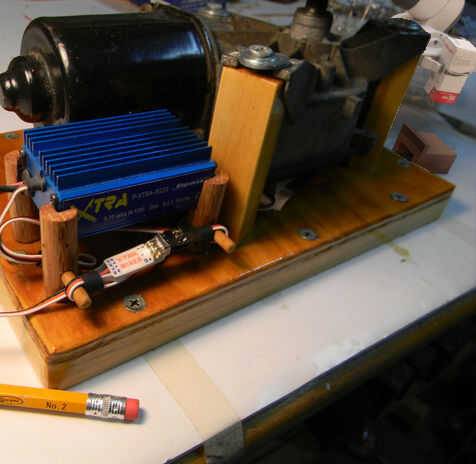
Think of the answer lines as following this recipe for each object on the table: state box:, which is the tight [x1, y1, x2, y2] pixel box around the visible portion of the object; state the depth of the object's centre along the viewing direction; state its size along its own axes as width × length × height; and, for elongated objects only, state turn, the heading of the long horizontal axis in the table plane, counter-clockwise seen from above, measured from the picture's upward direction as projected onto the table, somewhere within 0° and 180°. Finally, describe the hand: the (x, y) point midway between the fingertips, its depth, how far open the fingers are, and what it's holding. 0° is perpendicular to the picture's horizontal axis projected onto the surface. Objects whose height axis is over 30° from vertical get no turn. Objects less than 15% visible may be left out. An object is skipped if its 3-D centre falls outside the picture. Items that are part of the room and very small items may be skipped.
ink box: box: [423, 37, 476, 106], centre depth 103 cm, size 9×5×12 cm, turn 168°
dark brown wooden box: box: [392, 122, 458, 175], centre depth 102 cm, size 8×10×6 cm
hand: (455, 70), depth 102 cm, fingers closed on ink box, 5 cm apart
